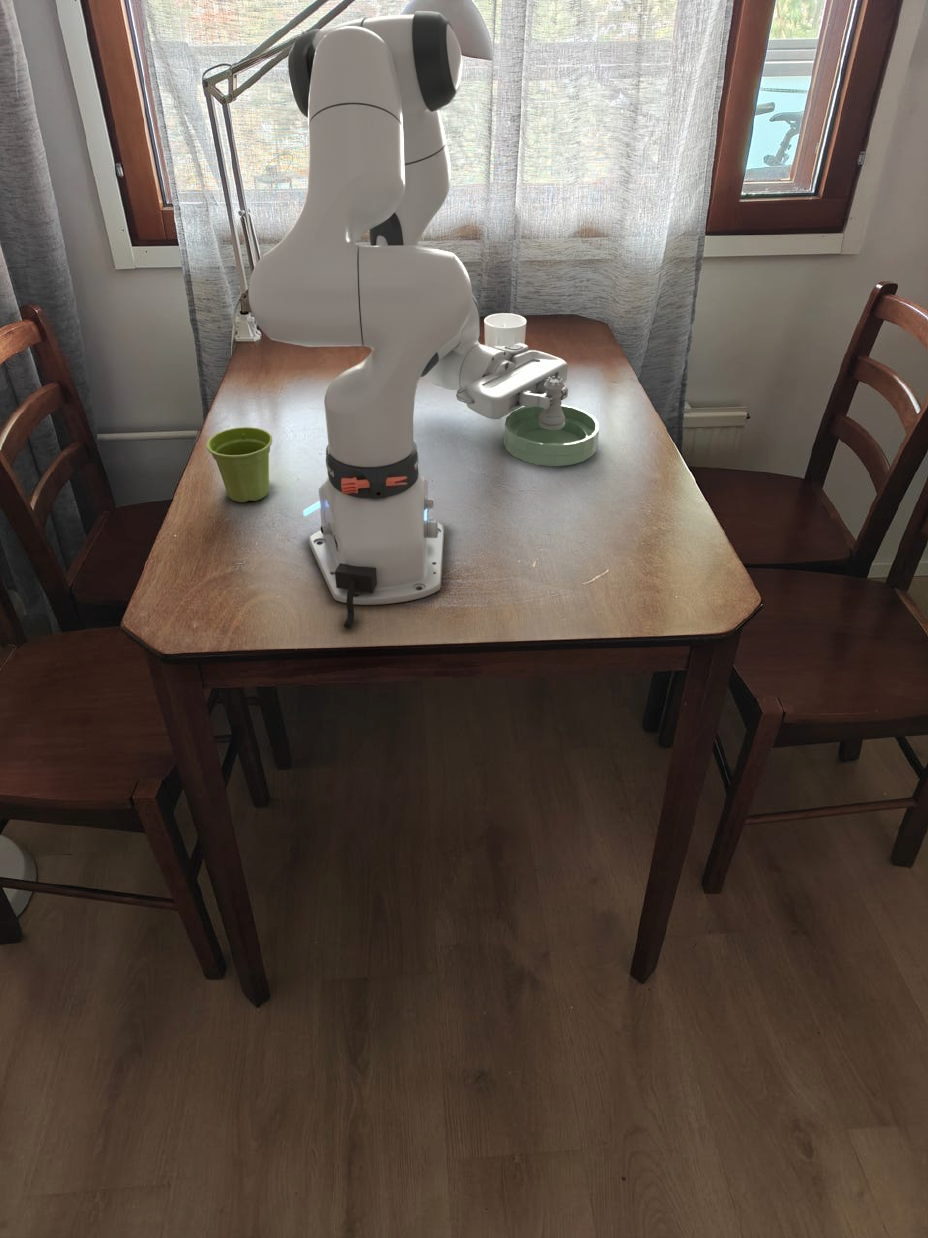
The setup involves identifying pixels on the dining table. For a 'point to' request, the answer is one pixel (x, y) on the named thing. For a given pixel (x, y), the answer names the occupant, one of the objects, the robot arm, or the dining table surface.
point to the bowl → (551, 437)
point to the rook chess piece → (553, 406)
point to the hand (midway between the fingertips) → (558, 398)
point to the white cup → (504, 329)
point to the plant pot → (243, 461)
